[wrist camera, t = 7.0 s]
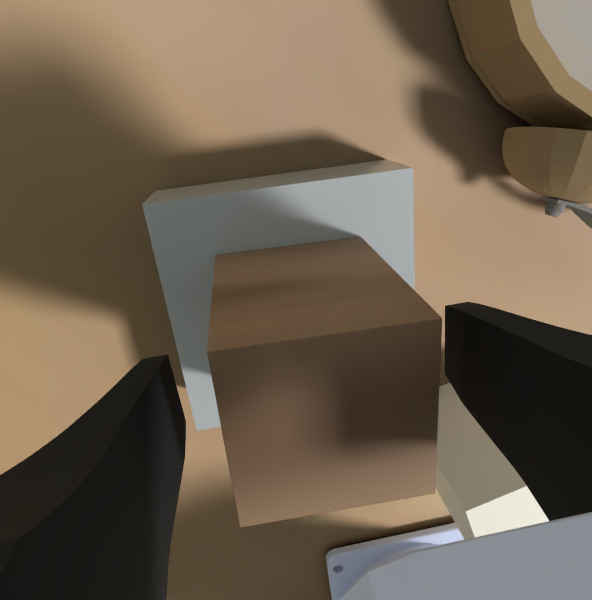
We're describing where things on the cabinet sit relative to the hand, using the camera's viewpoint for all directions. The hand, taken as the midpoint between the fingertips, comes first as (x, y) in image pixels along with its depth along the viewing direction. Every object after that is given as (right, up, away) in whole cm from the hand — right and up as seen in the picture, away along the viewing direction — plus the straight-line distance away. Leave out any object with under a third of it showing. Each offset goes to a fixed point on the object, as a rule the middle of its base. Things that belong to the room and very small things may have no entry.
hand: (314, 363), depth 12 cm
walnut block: (0, +1, +3) cm, 4 cm away
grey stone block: (-1, +2, +6) cm, 6 cm away
